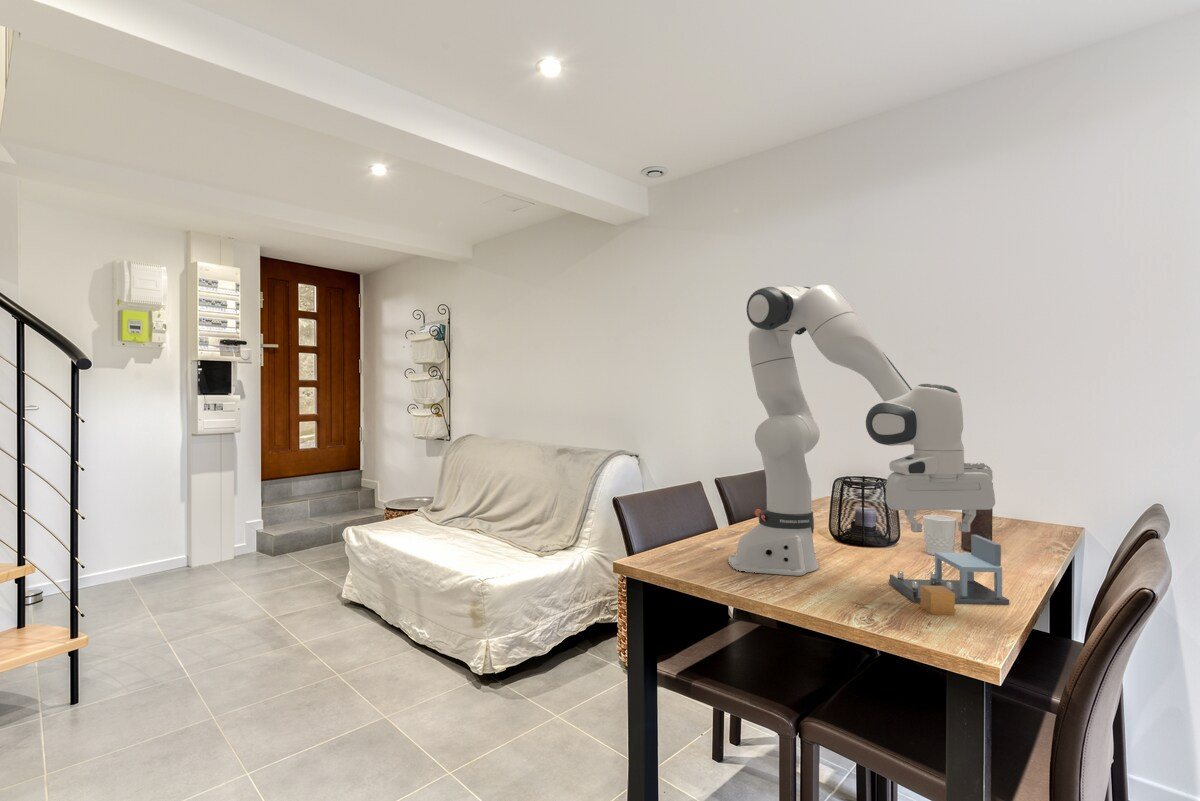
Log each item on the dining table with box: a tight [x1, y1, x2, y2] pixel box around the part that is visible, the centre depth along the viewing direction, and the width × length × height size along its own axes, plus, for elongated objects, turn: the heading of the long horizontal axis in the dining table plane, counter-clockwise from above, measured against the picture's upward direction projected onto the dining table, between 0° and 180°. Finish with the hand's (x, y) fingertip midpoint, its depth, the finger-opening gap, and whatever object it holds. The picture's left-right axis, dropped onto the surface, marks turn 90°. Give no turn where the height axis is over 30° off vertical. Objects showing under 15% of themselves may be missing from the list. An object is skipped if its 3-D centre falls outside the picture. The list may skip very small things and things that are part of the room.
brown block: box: [920, 585, 956, 616], centre depth 118 cm, size 4×4×4 cm
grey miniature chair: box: [934, 535, 1003, 597], centre depth 128 cm, size 8×12×11 cm
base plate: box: [888, 570, 1010, 606], centre depth 129 cm, size 19×13×4 cm
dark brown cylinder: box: [960, 482, 994, 551], centre depth 164 cm, size 8×7×20 cm
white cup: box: [922, 514, 957, 556], centre depth 161 cm, size 8×8×10 cm
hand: (940, 531), depth 119 cm, fingers open, 8 cm apart
